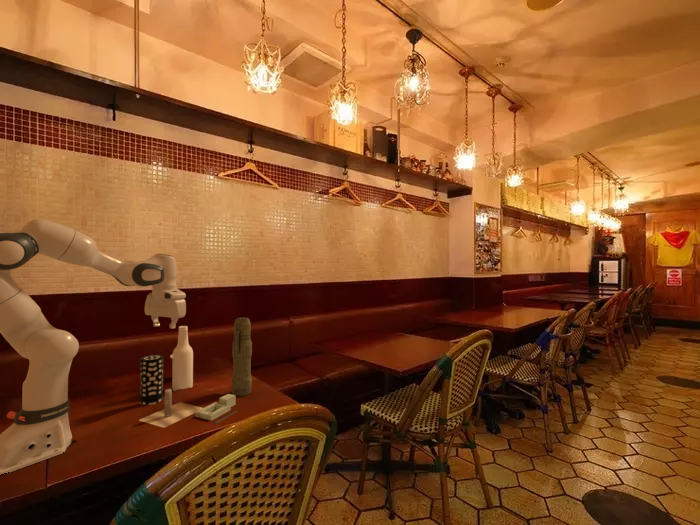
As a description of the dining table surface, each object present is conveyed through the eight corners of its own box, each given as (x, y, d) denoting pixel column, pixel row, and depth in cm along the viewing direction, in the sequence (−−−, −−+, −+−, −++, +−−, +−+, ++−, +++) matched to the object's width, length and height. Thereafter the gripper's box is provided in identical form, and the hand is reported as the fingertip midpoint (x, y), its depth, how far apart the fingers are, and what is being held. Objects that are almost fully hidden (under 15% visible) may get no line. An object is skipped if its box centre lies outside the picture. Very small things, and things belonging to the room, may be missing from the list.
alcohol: (188, 384, 168) (189, 324, 168) (195, 389, 162) (196, 326, 162) (169, 388, 162) (170, 326, 162) (175, 394, 156) (176, 329, 156)
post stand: (164, 431, 121) (164, 399, 121) (138, 424, 127) (138, 393, 127) (204, 411, 137) (204, 383, 137) (179, 405, 143) (179, 378, 143)
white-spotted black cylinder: (152, 409, 139) (152, 360, 139) (135, 407, 141) (135, 359, 141) (167, 401, 147) (167, 355, 148) (150, 399, 149) (151, 354, 149)
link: (211, 423, 127) (211, 410, 127) (195, 419, 130) (195, 406, 130) (239, 408, 141) (239, 396, 141) (224, 404, 144) (224, 393, 144)
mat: (215, 424, 127) (215, 423, 127) (195, 418, 131) (195, 418, 131) (237, 411, 138) (237, 410, 138) (219, 407, 142) (219, 406, 142)
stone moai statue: (227, 397, 152) (228, 320, 152) (236, 388, 164) (237, 316, 164) (246, 398, 152) (247, 320, 152) (254, 388, 163) (255, 316, 163)
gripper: (140, 293, 140) (140, 326, 140) (175, 295, 132) (175, 330, 132) (154, 292, 146) (154, 324, 146) (188, 294, 137) (188, 328, 137)
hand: (164, 327), depth 138 cm, fingers open, 8 cm apart
